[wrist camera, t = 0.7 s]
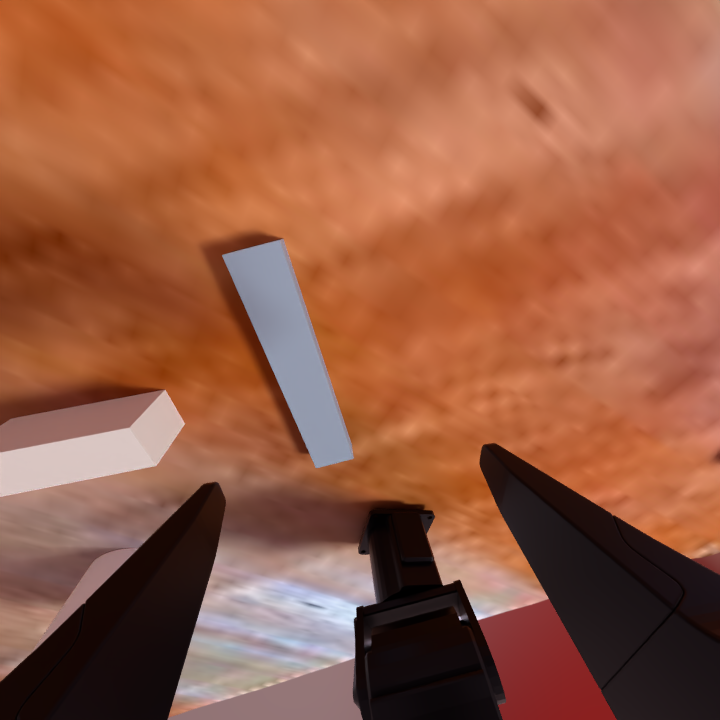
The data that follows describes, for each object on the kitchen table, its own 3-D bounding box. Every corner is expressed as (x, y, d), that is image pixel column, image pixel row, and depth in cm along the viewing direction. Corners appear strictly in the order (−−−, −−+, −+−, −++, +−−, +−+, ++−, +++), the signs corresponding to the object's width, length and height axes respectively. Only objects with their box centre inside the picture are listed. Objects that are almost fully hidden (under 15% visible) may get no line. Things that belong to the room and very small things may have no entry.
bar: (350, 432, 24) (353, 458, 21) (316, 440, 24) (316, 468, 21) (286, 237, 16) (279, 240, 14) (238, 249, 16) (221, 255, 14)
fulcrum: (148, 319, 17) (88, 353, 13) (221, 454, 23) (196, 510, 18) (-32, 351, 17) (-158, 397, 12) (86, 481, 22) (28, 545, 18)
